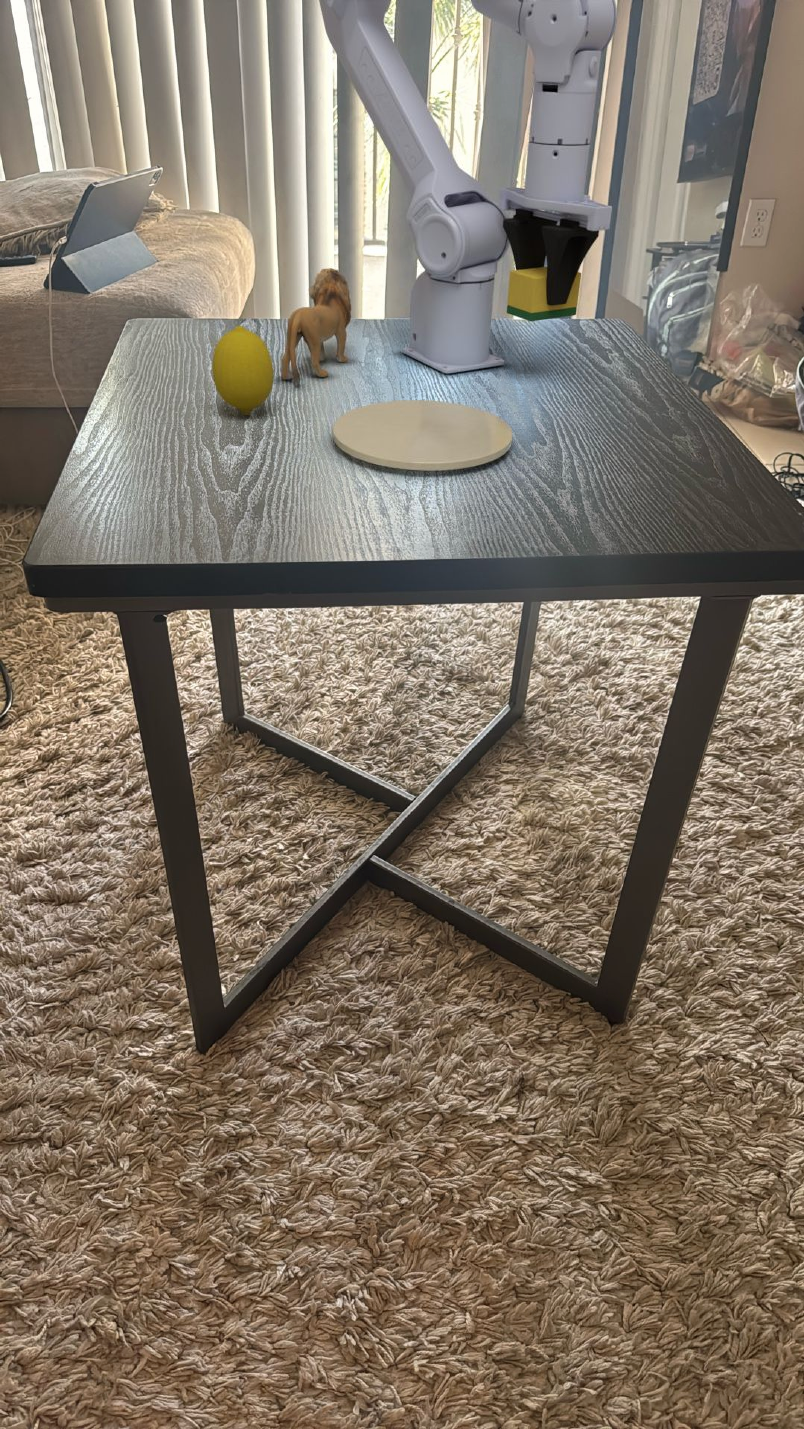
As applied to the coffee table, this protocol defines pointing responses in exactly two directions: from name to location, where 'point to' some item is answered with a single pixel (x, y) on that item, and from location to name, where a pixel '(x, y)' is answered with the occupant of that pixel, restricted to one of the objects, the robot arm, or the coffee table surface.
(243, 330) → the lemon
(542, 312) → the sponge
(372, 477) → the coffee table surface
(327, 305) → the lion figurine
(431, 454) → the plate
